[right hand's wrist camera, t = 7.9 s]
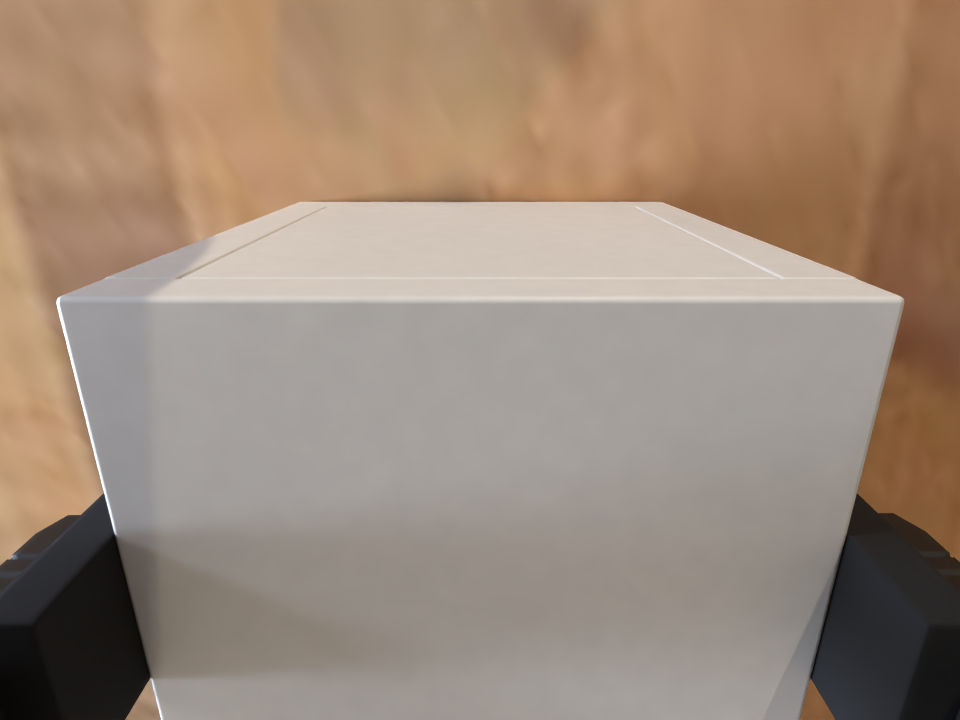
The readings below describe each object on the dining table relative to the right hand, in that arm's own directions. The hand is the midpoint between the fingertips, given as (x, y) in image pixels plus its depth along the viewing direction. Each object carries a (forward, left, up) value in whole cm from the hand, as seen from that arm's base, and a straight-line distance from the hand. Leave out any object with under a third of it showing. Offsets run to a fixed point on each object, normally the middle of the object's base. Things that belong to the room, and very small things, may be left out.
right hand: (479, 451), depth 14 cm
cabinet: (+2, -6, -6) cm, 8 cm away
